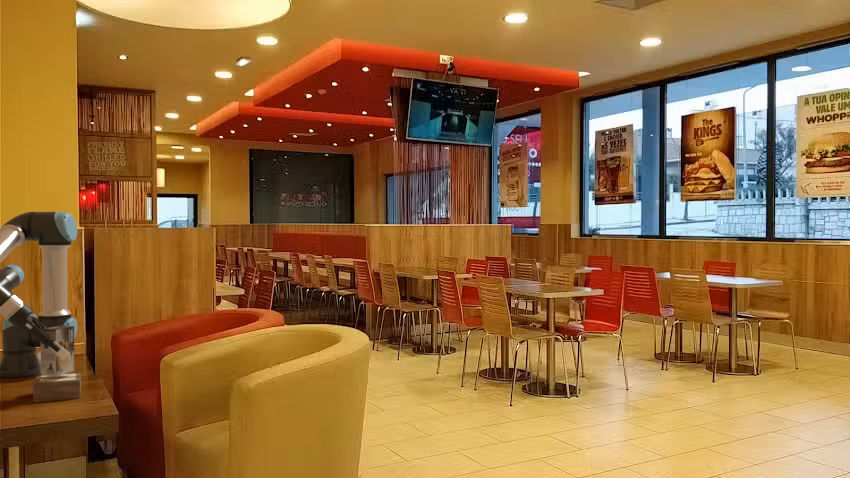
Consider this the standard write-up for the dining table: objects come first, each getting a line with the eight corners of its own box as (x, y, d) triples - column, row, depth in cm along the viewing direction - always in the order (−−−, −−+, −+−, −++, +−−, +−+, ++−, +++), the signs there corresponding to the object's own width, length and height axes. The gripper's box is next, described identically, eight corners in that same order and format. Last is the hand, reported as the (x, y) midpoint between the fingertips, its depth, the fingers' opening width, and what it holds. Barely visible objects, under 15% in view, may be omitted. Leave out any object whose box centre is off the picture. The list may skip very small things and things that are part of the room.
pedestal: (36, 393, 243) (36, 375, 243) (81, 389, 249) (81, 372, 249) (33, 402, 230) (33, 383, 230) (79, 398, 236) (79, 379, 236)
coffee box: (59, 370, 245) (59, 325, 245) (74, 371, 243) (75, 325, 243) (39, 375, 236) (39, 328, 236) (56, 376, 234) (56, 329, 234)
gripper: (10, 315, 243) (60, 356, 250) (2, 323, 222) (56, 368, 229) (28, 299, 245) (77, 341, 252) (21, 306, 225) (74, 351, 231)
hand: (67, 353), depth 241 cm, fingers closed on coffee box, 10 cm apart
